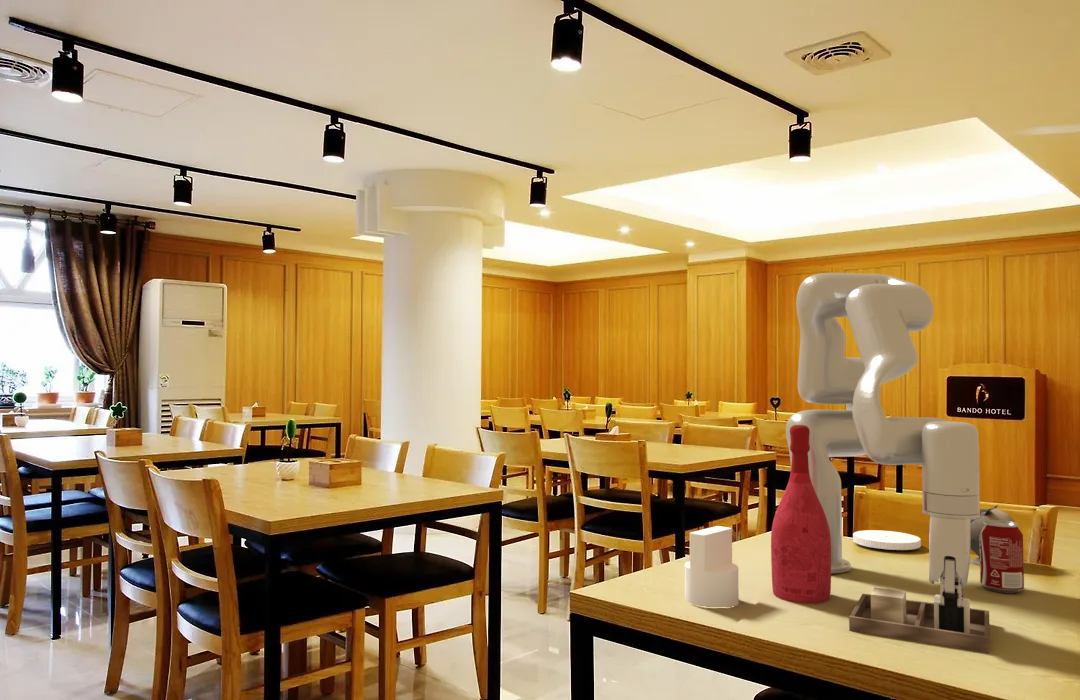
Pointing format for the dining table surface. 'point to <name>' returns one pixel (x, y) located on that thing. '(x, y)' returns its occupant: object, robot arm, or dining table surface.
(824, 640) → the dining table surface
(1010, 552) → the soda can
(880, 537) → the plastic lid
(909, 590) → the dining table surface
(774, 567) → the wine bottle
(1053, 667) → the dining table surface
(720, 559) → the cylinder with rectangular tab
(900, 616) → the plain cube
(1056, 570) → the dining table surface
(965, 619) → the letter cube
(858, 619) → the organiser
